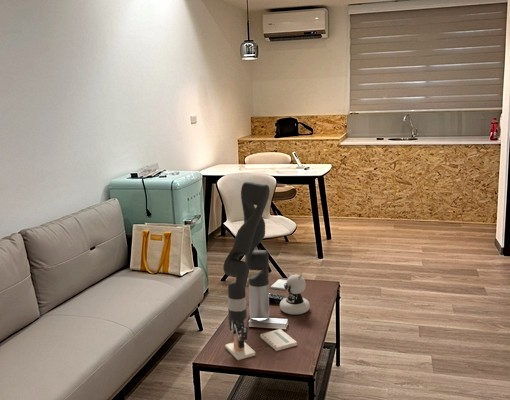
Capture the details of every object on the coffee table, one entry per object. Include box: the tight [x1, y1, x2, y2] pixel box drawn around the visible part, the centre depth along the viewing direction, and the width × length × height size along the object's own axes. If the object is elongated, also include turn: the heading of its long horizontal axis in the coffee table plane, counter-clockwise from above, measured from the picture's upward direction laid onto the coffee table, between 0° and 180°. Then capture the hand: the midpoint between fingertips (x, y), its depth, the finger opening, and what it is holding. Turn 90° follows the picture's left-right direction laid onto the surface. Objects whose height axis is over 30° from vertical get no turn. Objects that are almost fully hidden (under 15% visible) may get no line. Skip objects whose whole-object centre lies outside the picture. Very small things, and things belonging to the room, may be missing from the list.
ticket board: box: [259, 328, 298, 352], centre depth 229 cm, size 14×10×2 cm
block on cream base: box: [225, 334, 256, 361], centre depth 220 cm, size 12×8×7 cm, turn 27°
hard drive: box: [269, 278, 287, 291], centre depth 292 cm, size 2×8×12 cm
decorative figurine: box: [279, 271, 311, 316], centre depth 258 cm, size 15×15×20 cm
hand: (238, 344), depth 220 cm, fingers open, 5 cm apart
